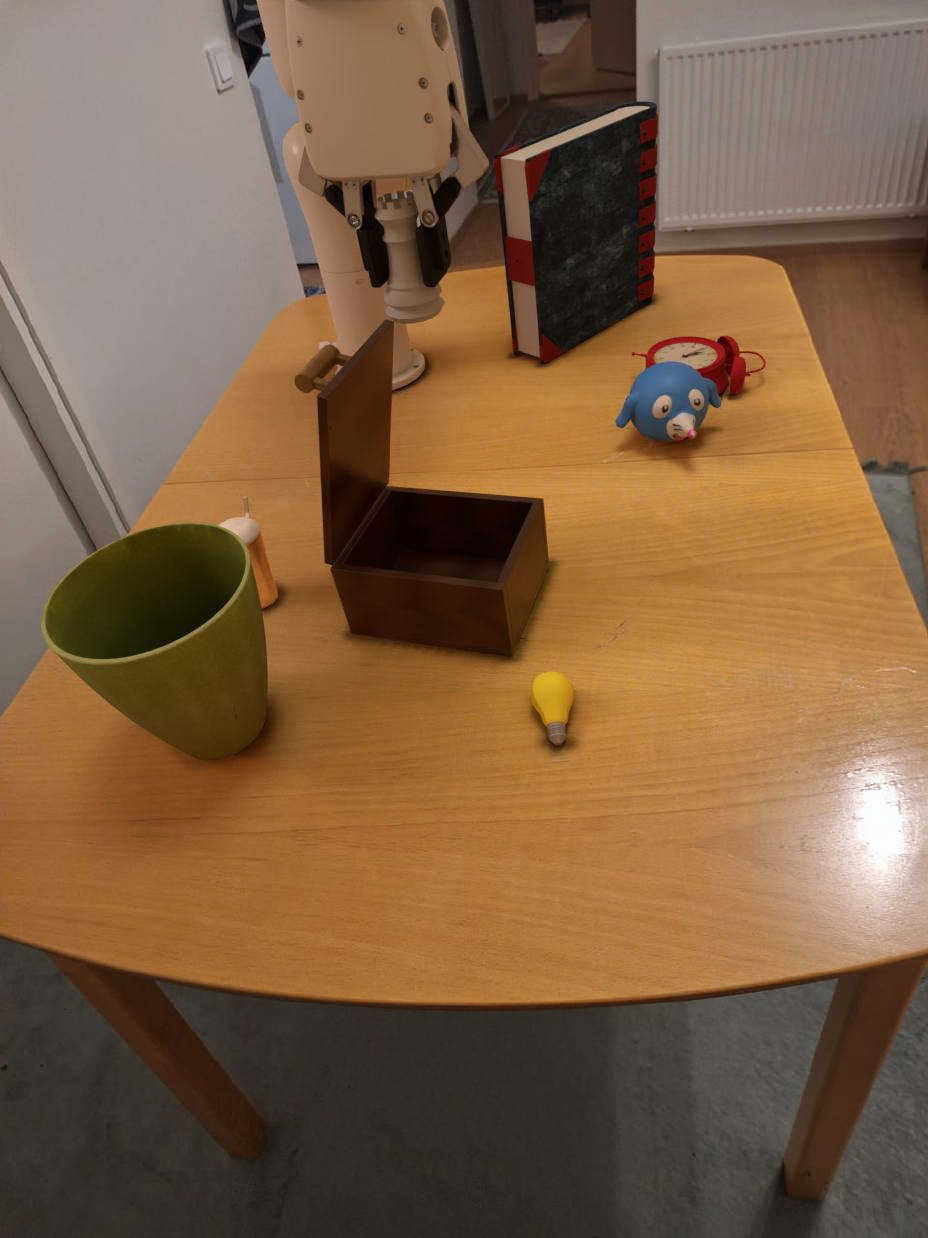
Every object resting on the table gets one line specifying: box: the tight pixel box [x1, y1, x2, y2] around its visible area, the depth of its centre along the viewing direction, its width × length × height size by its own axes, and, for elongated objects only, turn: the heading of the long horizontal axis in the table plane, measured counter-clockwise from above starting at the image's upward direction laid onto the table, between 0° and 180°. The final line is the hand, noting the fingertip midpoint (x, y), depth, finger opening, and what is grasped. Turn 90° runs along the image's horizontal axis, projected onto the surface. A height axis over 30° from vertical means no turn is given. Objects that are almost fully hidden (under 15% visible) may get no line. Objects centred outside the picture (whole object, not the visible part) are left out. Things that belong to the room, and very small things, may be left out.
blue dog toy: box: [614, 361, 722, 443], centre depth 87 cm, size 12×12×8 cm
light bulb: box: [529, 670, 576, 746], centre depth 63 cm, size 3×6×4 cm, turn 1°
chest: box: [329, 485, 550, 658], centre depth 73 cm, size 16×13×8 cm
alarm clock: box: [631, 335, 767, 395], centre depth 97 cm, size 10×6×15 cm
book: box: [493, 100, 659, 365], centre depth 107 cm, size 25×7×25 cm, turn 132°
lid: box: [293, 319, 394, 567], centre depth 67 cm, size 16×13×5 cm
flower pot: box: [40, 521, 269, 761], centre depth 63 cm, size 15×15×16 cm
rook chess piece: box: [375, 190, 446, 325], centre depth 57 cm, size 4×4×8 cm
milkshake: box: [218, 496, 279, 609], centre depth 77 cm, size 5×5×10 cm
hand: (409, 277), depth 58 cm, fingers closed on rook chess piece, 3 cm apart
